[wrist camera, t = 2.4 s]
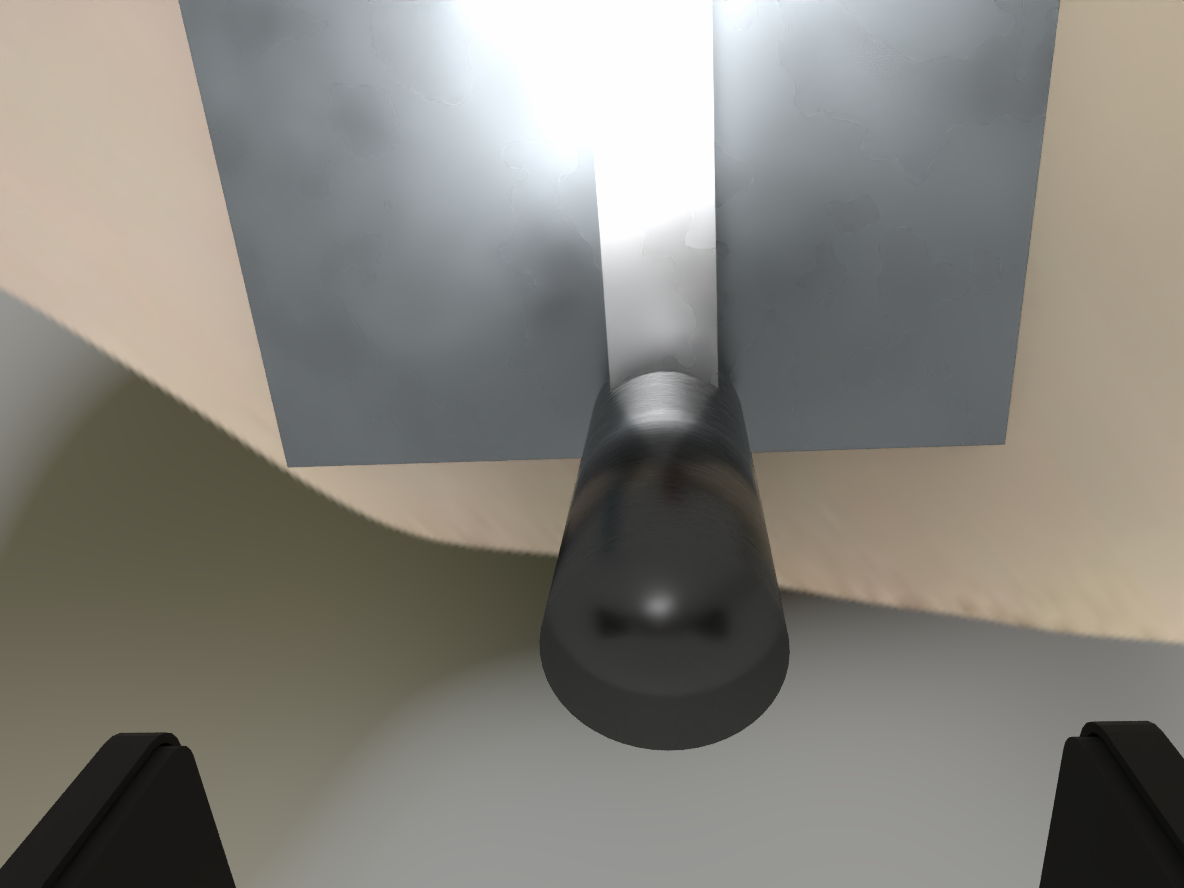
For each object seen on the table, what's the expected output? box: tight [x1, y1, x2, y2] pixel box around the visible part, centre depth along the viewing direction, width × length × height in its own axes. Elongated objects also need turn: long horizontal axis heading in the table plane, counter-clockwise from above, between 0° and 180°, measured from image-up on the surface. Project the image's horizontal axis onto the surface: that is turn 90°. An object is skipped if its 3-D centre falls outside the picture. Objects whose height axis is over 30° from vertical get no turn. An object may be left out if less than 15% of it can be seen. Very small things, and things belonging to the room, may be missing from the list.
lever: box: [540, 0, 790, 750], centre depth 13 cm, size 18×4×9 cm, turn 4°
